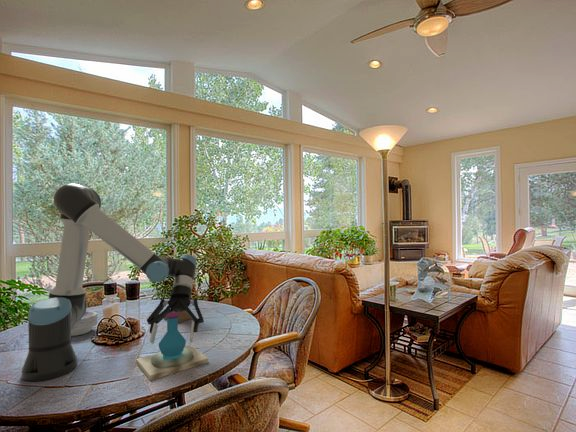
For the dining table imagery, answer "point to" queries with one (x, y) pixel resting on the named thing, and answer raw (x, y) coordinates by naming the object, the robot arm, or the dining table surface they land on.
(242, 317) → the dining table surface
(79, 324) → the paper bowls
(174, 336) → the perfume bottle
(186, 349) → the birch stand
